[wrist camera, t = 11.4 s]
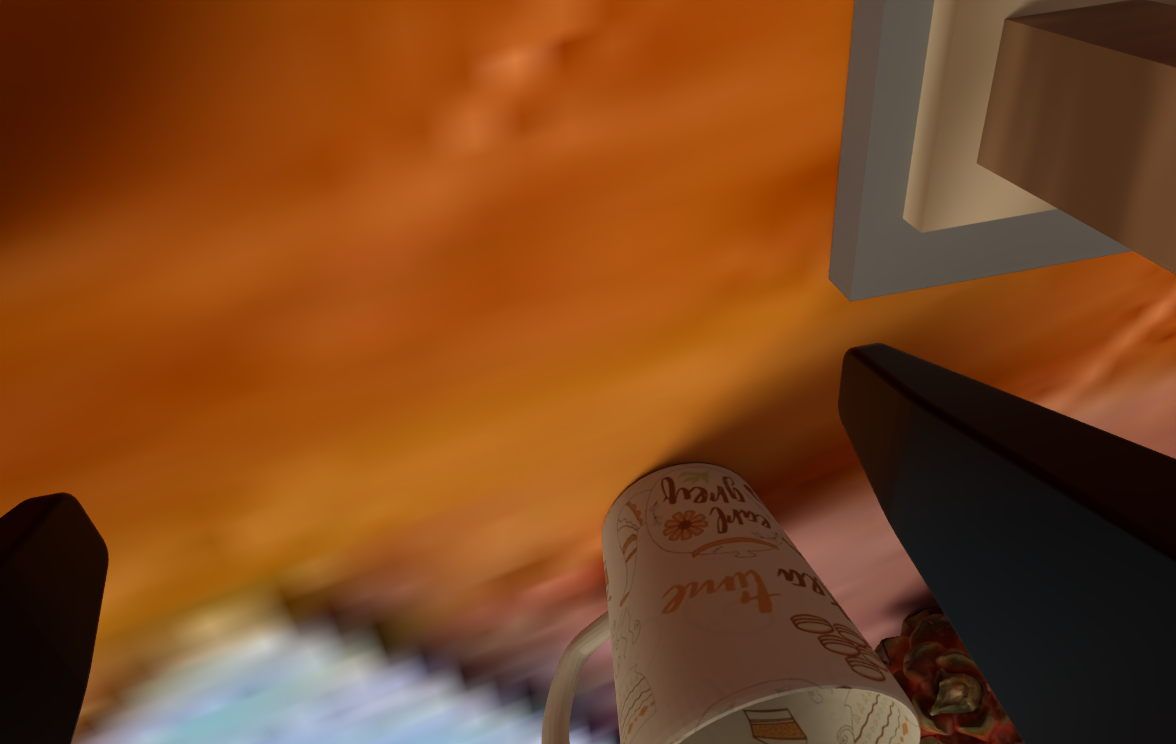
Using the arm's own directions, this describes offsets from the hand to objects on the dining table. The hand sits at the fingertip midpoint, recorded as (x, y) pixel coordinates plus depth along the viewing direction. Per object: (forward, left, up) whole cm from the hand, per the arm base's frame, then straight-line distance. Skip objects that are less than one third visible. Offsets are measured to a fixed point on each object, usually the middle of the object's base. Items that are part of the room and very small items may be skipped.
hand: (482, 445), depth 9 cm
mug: (+11, -14, -13) cm, 22 cm away
